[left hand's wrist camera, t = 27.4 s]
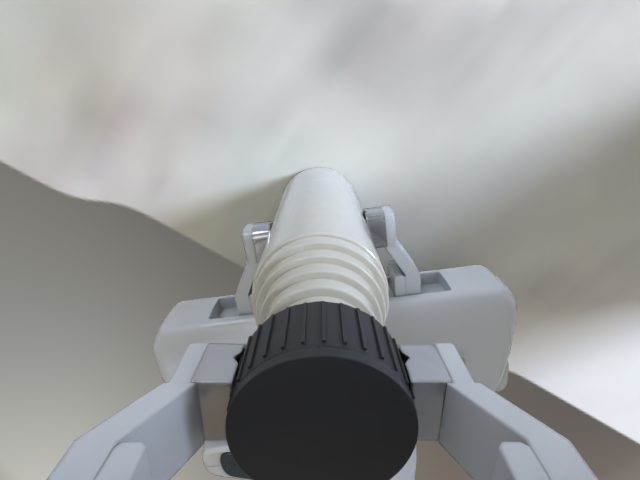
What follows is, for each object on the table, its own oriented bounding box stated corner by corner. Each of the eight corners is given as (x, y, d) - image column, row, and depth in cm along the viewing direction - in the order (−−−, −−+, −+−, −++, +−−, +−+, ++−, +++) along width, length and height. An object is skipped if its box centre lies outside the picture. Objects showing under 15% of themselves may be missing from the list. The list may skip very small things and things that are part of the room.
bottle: (317, 253, 27) (317, 510, 10) (266, 203, 26) (170, 406, 9) (372, 206, 26) (471, 412, 9) (320, 150, 24) (327, 273, 8)
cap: (263, 437, 11) (250, 514, 9) (221, 313, 10) (196, 371, 8) (409, 416, 11) (429, 490, 9) (391, 284, 10) (410, 337, 8)
